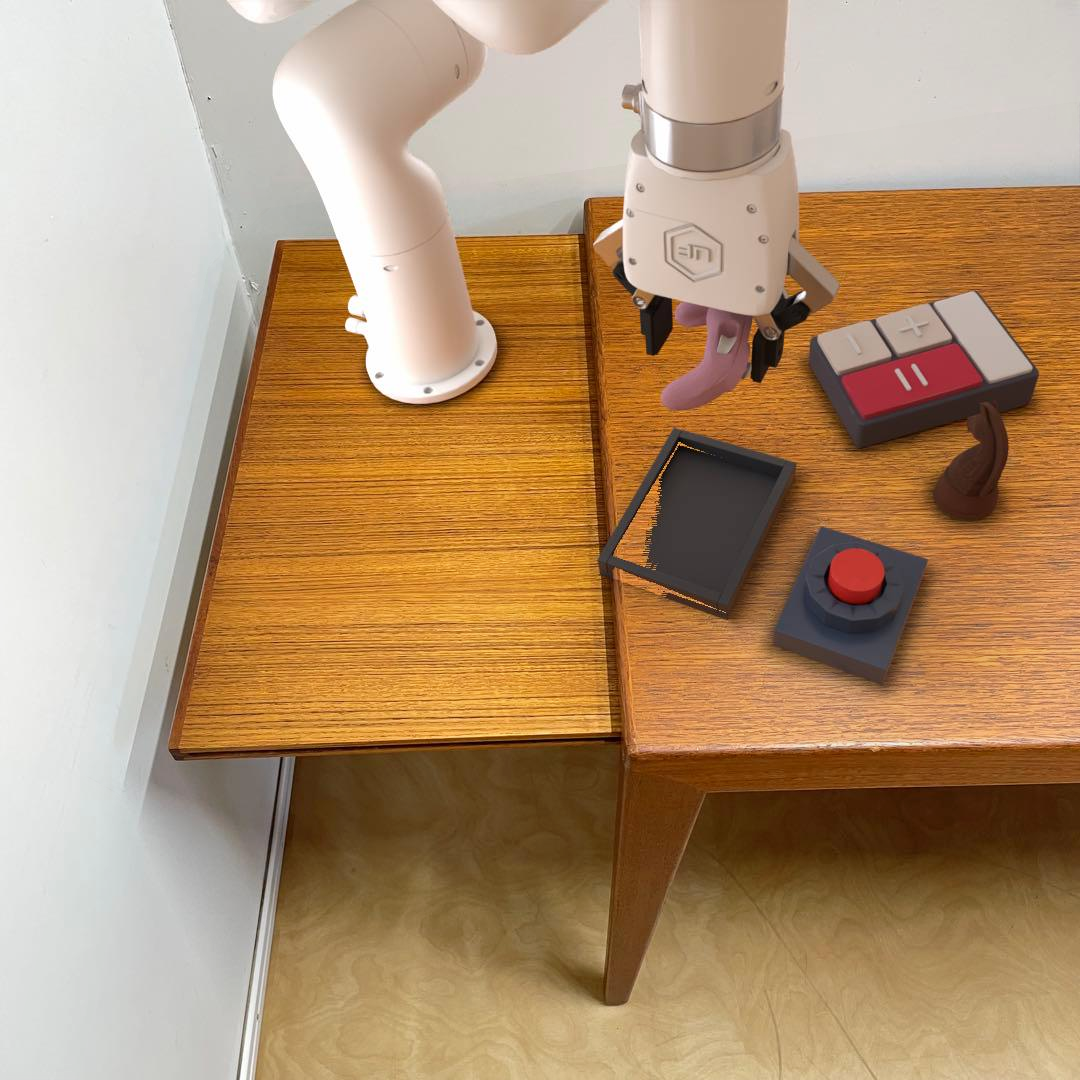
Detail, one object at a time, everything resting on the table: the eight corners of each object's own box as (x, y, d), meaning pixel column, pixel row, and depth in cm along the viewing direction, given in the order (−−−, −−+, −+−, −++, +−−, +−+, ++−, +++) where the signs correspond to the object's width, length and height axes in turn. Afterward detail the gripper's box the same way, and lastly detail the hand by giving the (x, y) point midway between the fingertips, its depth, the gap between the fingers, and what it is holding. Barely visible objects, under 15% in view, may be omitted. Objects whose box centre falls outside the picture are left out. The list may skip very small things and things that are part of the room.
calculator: (808, 330, 85) (977, 281, 85) (806, 366, 88) (969, 319, 88) (860, 420, 78) (1044, 366, 78) (856, 455, 82) (1032, 404, 81)
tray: (599, 574, 77) (597, 559, 76) (674, 443, 84) (673, 427, 83) (727, 620, 74) (727, 605, 72) (794, 479, 80) (796, 462, 79)
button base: (771, 645, 72) (775, 616, 69) (817, 542, 77) (822, 510, 73) (882, 685, 69) (891, 657, 66) (923, 575, 74) (933, 544, 70)
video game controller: (714, 434, 68) (766, 370, 62) (653, 410, 67) (700, 343, 61) (726, 334, 73) (775, 267, 68) (670, 311, 73) (715, 241, 67)
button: (820, 594, 70) (823, 580, 68) (837, 555, 71) (840, 541, 70) (872, 611, 68) (875, 598, 67) (887, 571, 70) (891, 557, 69)
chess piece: (979, 470, 78) (1010, 380, 70) (1009, 519, 75) (1045, 431, 67) (923, 483, 78) (947, 394, 70) (950, 532, 75) (980, 446, 67)
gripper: (542, 131, 56) (574, 361, 70) (848, 184, 49) (815, 425, 64) (599, 61, 59) (619, 294, 74) (891, 102, 53) (851, 348, 67)
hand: (710, 353), depth 68 cm, fingers closed on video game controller, 7 cm apart
